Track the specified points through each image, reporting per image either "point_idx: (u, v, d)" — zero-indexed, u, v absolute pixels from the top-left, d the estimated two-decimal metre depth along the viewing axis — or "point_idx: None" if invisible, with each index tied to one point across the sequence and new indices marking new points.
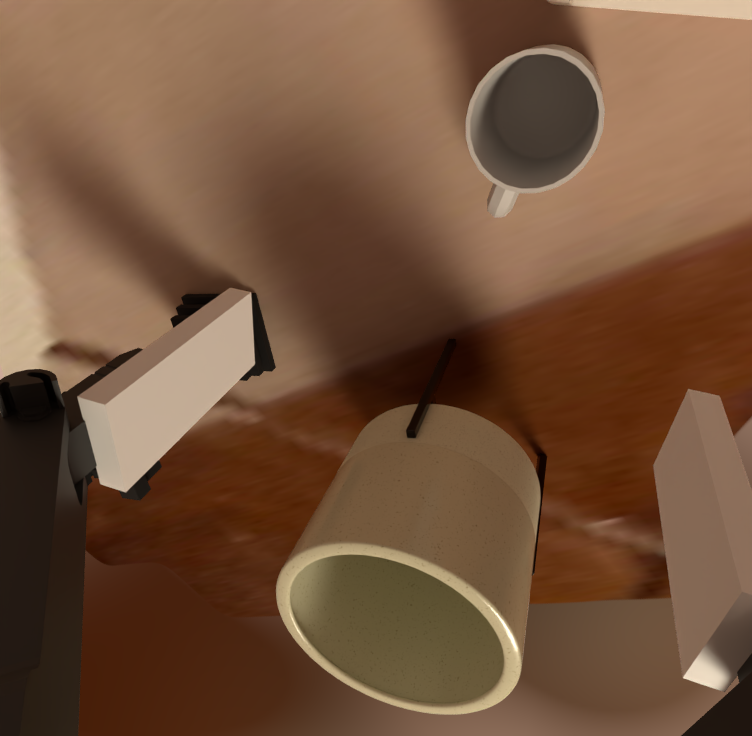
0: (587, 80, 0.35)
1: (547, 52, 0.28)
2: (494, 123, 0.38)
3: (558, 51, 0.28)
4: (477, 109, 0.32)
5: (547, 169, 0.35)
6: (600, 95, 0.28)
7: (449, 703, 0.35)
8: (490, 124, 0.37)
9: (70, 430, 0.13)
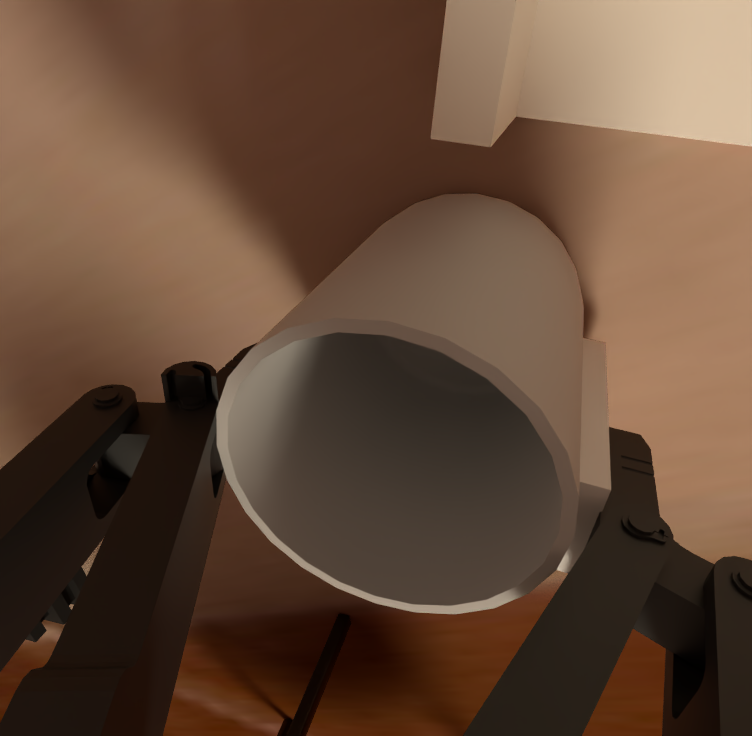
0: None
1: (398, 334, 0.09)
2: None
3: (431, 335, 0.09)
4: (269, 388, 0.13)
5: (463, 464, 0.16)
6: (565, 462, 0.09)
7: None
8: (353, 341, 0.18)
9: None
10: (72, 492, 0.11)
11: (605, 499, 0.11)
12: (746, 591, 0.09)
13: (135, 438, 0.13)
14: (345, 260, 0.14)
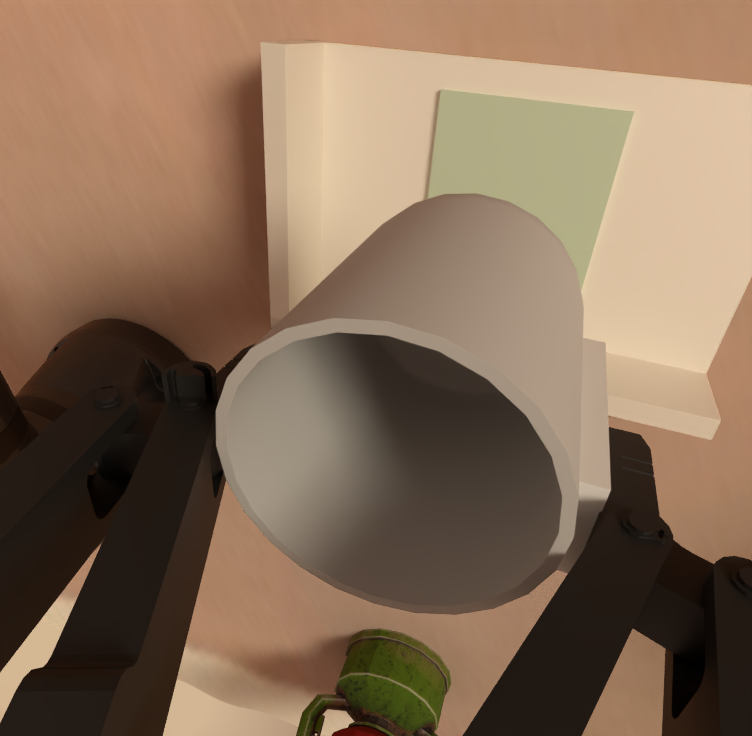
0: None
1: (397, 334, 0.09)
2: None
3: (430, 335, 0.09)
4: (268, 388, 0.13)
5: (463, 464, 0.16)
6: (564, 462, 0.09)
7: None
8: (353, 341, 0.18)
9: None
10: (72, 492, 0.11)
11: (605, 499, 0.11)
12: (746, 591, 0.09)
13: (135, 438, 0.13)
14: (345, 260, 0.14)
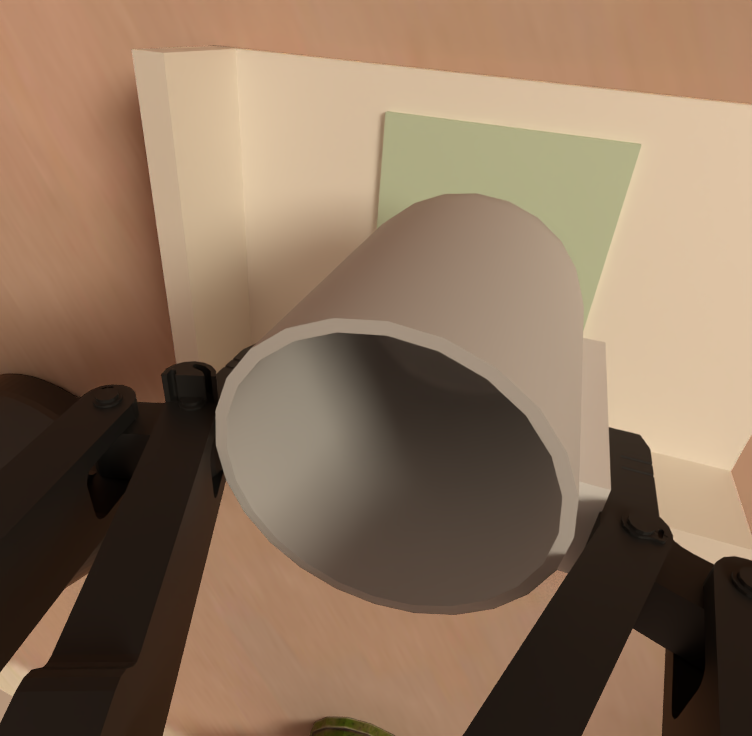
0: None
1: (397, 334, 0.09)
2: None
3: (430, 335, 0.09)
4: (268, 388, 0.13)
5: (463, 464, 0.16)
6: (564, 462, 0.09)
7: None
8: (353, 341, 0.18)
9: None
10: (72, 492, 0.11)
11: (605, 499, 0.11)
12: (746, 591, 0.09)
13: (135, 438, 0.13)
14: (344, 260, 0.14)
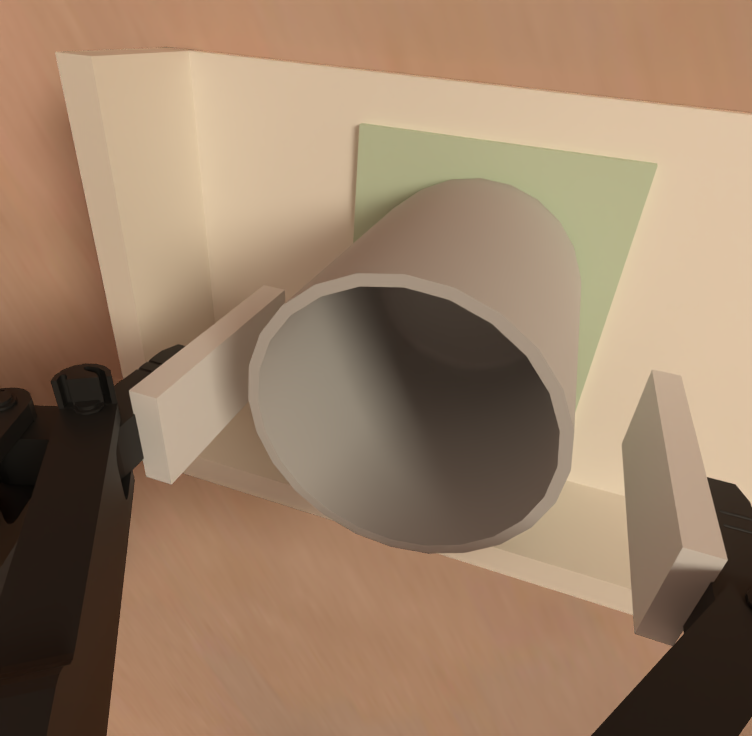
0: None
1: (413, 286, 0.10)
2: (381, 307, 0.20)
3: (441, 286, 0.10)
4: (293, 351, 0.14)
5: (470, 429, 0.17)
6: (561, 398, 0.10)
7: None
8: (367, 318, 0.19)
9: (121, 425, 0.13)
10: None
11: (719, 569, 0.10)
12: None
13: None
14: (361, 236, 0.15)
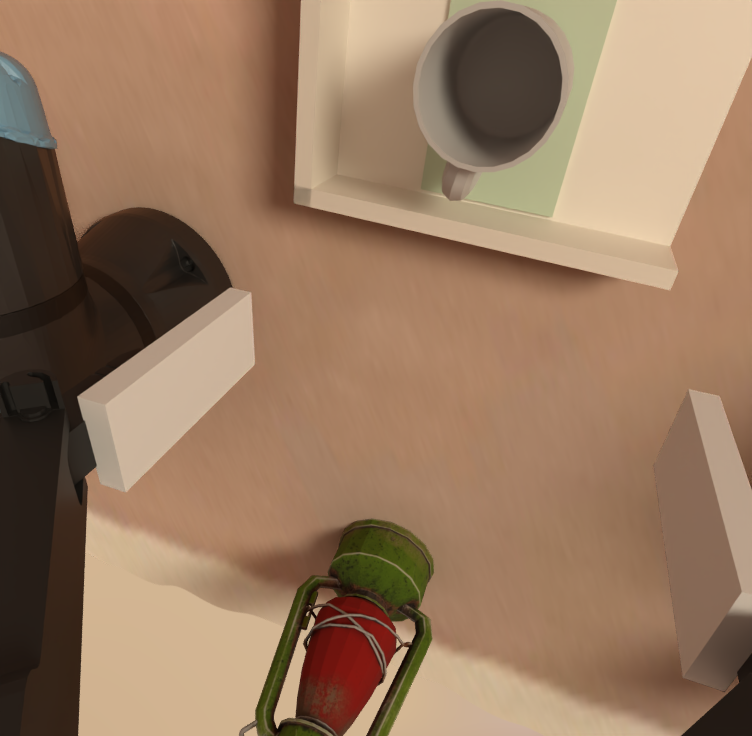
0: None
1: (504, 6, 0.24)
2: (456, 96, 0.34)
3: (516, 5, 0.24)
4: (429, 74, 0.28)
5: (510, 148, 0.31)
6: (564, 59, 0.24)
7: None
8: (450, 97, 0.33)
9: (70, 430, 0.13)
10: None
11: None
12: None
13: None
14: None
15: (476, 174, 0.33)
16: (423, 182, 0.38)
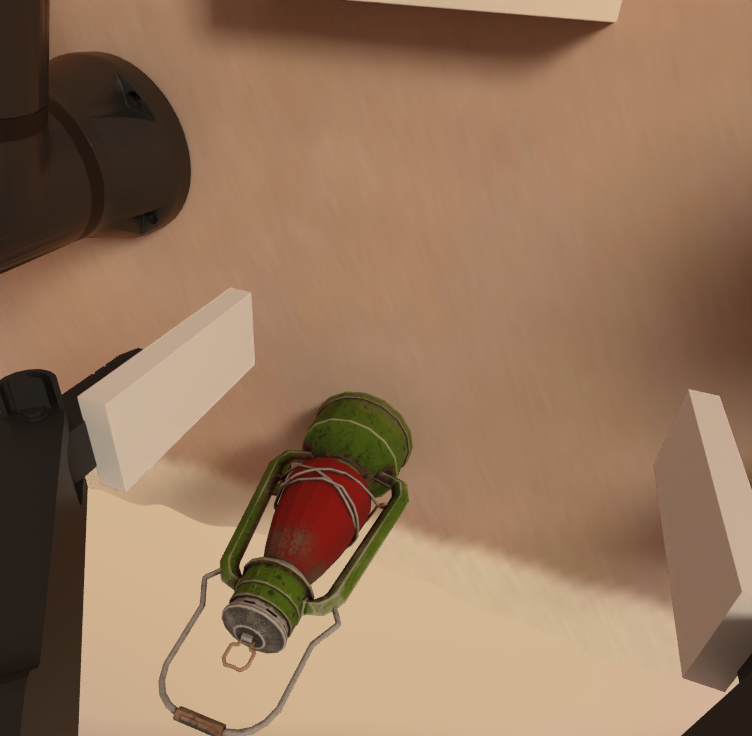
0: None
1: None
2: None
3: None
4: None
5: None
6: None
7: None
8: None
9: (70, 430, 0.13)
10: None
11: None
12: None
13: None
14: None
15: None
16: None
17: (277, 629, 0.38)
